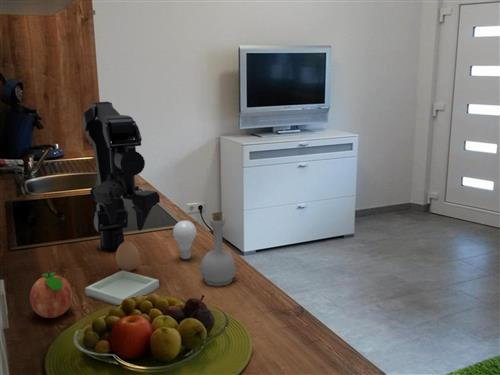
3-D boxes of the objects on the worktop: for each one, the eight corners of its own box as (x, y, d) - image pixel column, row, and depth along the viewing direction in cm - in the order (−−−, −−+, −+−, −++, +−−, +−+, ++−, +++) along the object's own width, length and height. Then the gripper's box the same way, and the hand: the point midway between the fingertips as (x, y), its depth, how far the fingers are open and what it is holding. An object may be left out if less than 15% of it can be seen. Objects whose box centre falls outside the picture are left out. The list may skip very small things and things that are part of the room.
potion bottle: (210, 290, 125) (207, 218, 121) (196, 277, 133) (193, 208, 128) (242, 283, 129) (241, 213, 125) (227, 270, 137) (226, 204, 132)
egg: (111, 273, 135) (109, 244, 134) (124, 265, 141) (122, 237, 139) (131, 276, 133) (129, 247, 132) (144, 267, 139) (142, 239, 137)
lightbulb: (193, 264, 141) (191, 225, 138) (170, 262, 142) (169, 223, 140) (200, 255, 147) (198, 218, 144) (178, 254, 148) (177, 216, 146)
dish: (85, 295, 123) (85, 287, 122) (122, 277, 133) (122, 270, 132) (123, 307, 117) (122, 299, 116) (159, 287, 127) (158, 280, 126)
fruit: (32, 328, 108) (27, 283, 106) (31, 308, 117) (26, 266, 114) (76, 319, 112) (72, 276, 109) (71, 301, 120) (67, 260, 118)
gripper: (70, 169, 128) (76, 230, 132) (127, 178, 119) (132, 243, 123) (104, 162, 138) (108, 218, 142) (159, 169, 129) (162, 229, 132)
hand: (126, 227), depth 134 cm, fingers open, 9 cm apart
